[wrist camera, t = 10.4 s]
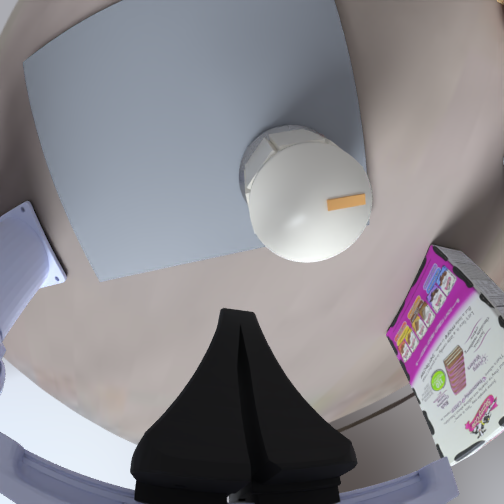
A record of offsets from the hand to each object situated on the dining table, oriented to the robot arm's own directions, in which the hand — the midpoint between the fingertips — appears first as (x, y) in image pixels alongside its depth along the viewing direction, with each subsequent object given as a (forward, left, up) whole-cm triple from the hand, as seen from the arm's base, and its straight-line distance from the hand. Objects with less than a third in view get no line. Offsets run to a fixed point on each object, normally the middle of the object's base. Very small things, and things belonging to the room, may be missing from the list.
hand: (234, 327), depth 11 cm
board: (-1, +8, -9) cm, 12 cm away
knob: (+4, +3, -8) cm, 9 cm away
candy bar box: (+16, -11, -10) cm, 22 cm away
